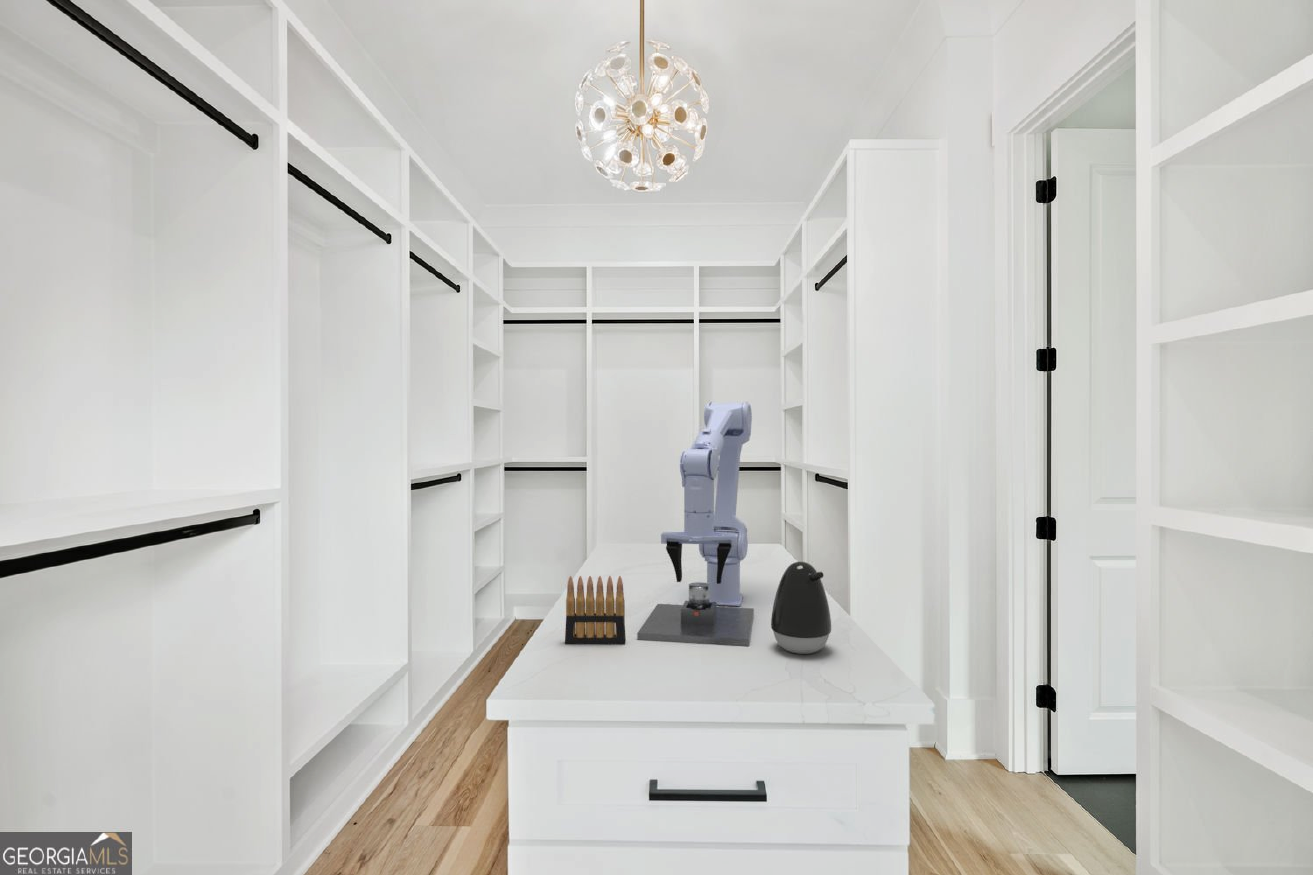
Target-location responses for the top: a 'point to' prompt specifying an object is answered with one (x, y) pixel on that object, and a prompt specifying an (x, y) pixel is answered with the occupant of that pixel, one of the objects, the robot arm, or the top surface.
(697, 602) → the grey cylindrical jar
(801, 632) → the pump dispenser
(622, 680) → the top surface
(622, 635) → the ammunition clip
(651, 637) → the post base
